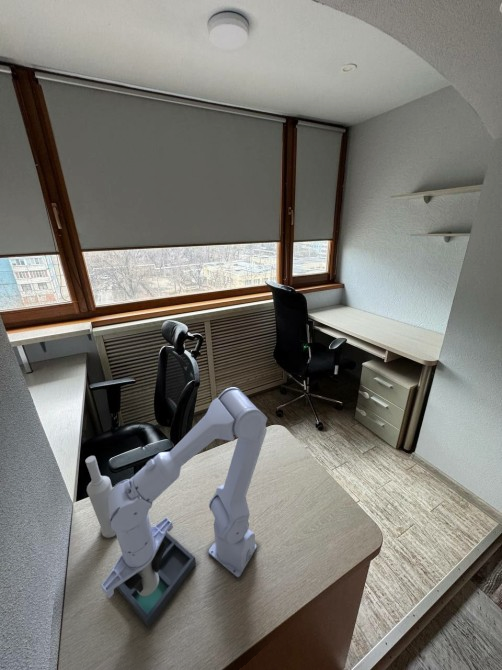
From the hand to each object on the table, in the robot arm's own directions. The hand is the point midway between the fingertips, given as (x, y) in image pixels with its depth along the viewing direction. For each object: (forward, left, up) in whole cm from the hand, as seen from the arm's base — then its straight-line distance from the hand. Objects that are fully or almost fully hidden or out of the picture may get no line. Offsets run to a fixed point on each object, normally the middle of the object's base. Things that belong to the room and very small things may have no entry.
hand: (147, 577), depth 56 cm
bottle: (+21, -3, -8) cm, 23 cm away
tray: (+3, -3, -7) cm, 9 cm away
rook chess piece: (0, 0, -3) cm, 3 cm away
